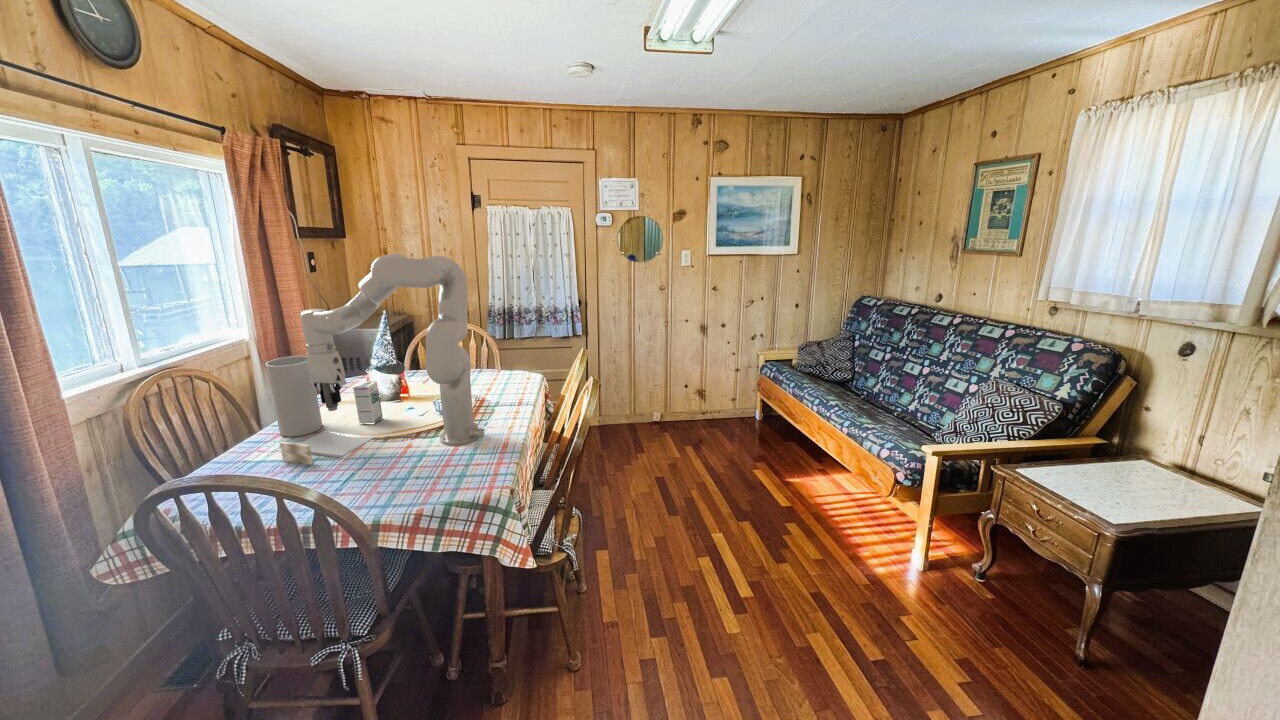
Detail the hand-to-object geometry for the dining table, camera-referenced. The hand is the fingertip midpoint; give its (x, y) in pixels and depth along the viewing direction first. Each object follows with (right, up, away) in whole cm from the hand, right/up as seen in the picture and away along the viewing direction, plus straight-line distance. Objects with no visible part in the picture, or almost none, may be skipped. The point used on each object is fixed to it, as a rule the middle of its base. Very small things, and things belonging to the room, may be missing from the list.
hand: (331, 401), depth 168 cm
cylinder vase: (-16, -11, +10) cm, 22 cm away
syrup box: (+4, -9, +17) cm, 20 cm away
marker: (0, -3, +1) cm, 3 cm away
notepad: (0, -14, -1) cm, 14 cm away
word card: (-2, -17, -13) cm, 22 cm away
